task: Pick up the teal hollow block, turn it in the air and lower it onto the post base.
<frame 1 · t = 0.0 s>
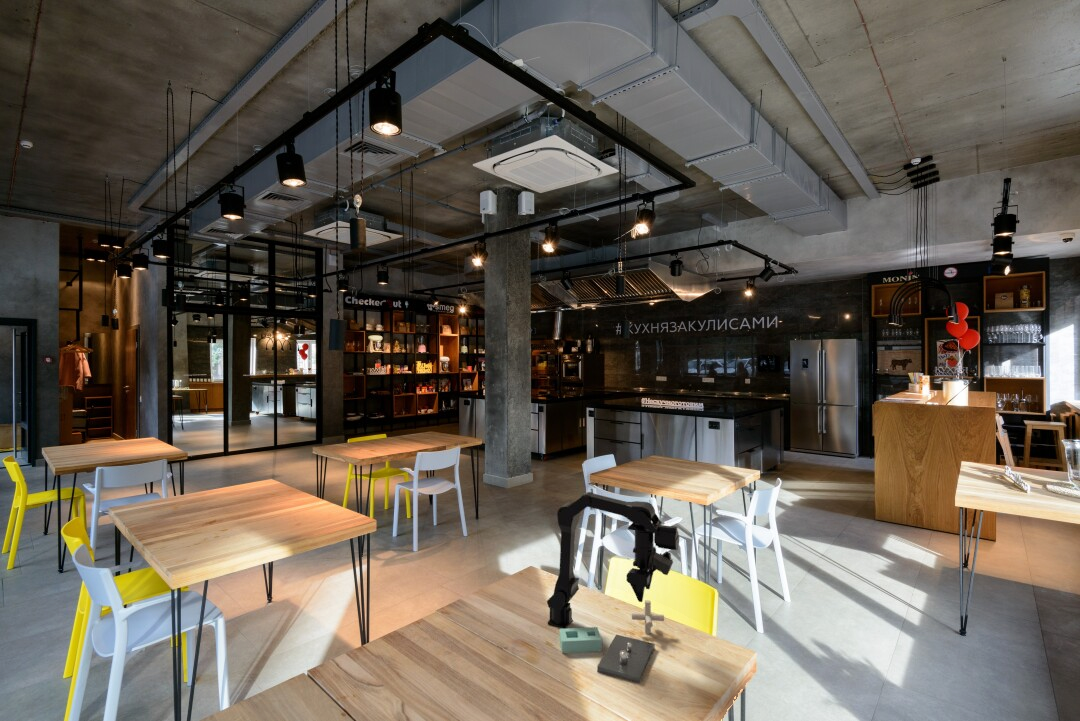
hand: (644, 595, 157), 15 cm above the table, tool pointing down, fingers open, 9 cm apart
pipe connector: (647, 633, 163), on the table
teal hollow block: (580, 645, 155), on the table
post base: (627, 659, 148), on the table
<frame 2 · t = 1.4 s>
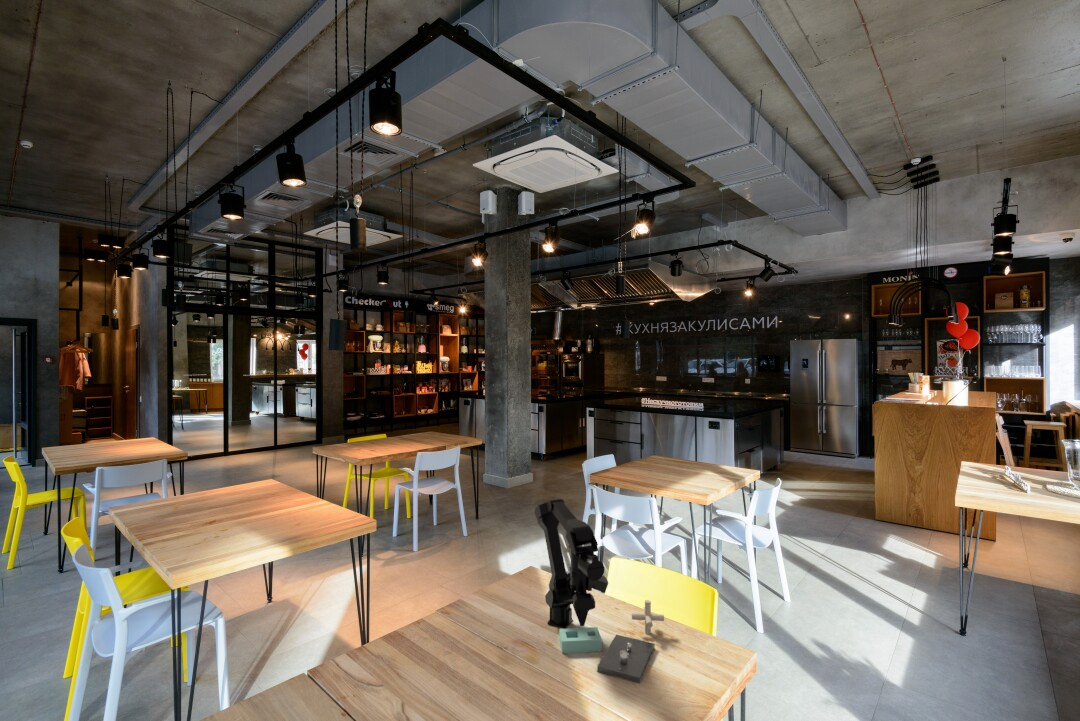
hand: (579, 617, 155), 8 cm above the table, tool pointing down, fingers open, 9 cm apart
nothing on the table moved.
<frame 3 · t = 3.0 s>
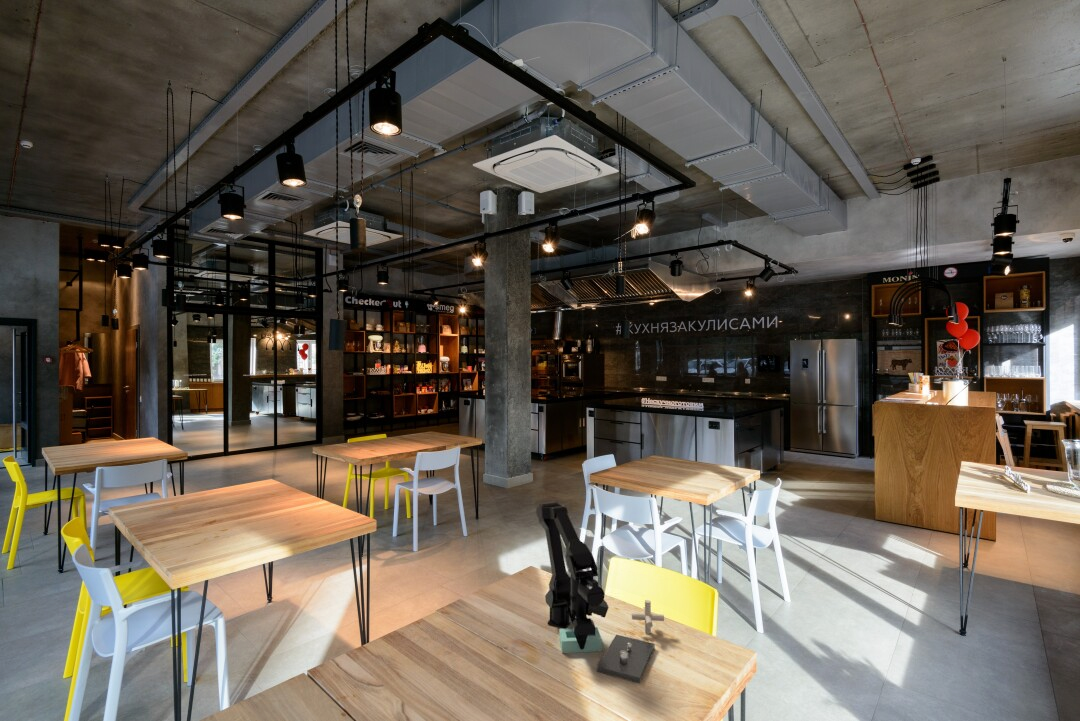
hand: (580, 642, 155), 1 cm above the table, tool pointing down, fingers closed on teal hollow block, 7 cm apart
teal hollow block: (580, 645, 155), on the table, touching gripper
everything else where it was.
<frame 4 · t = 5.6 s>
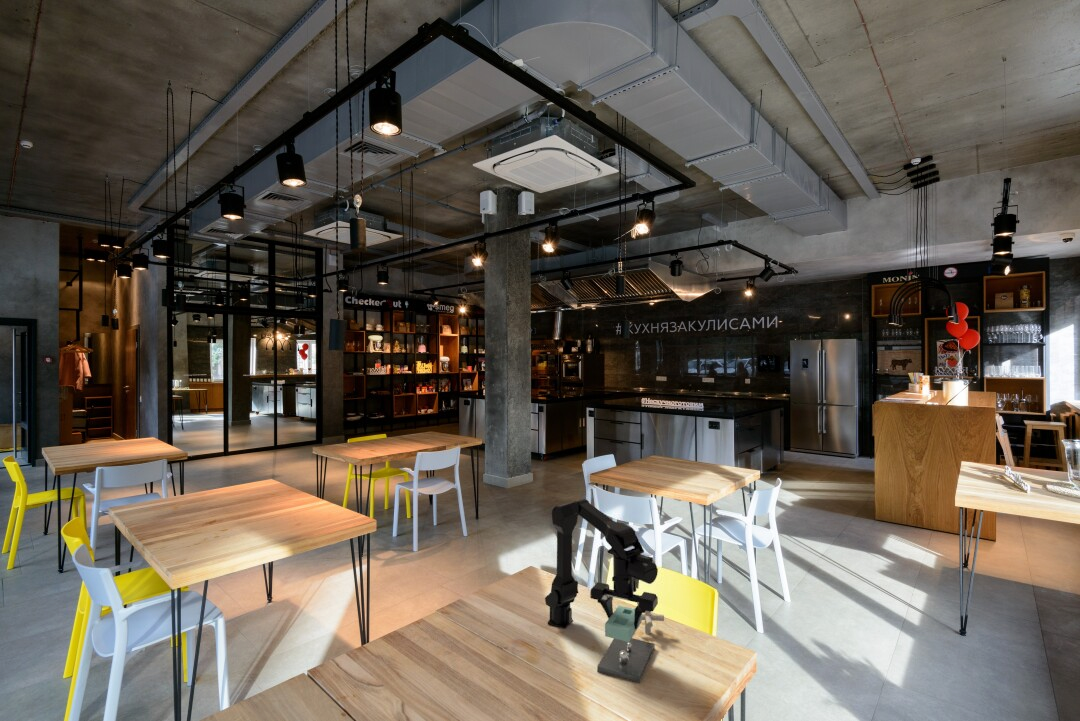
hand: (623, 625, 147), 10 cm above the table, tool pointing down, fingers closed on teal hollow block, 7 cm apart
teal hollow block: (623, 629, 147), point 9 cm above the table, touching gripper
everything else where it was.
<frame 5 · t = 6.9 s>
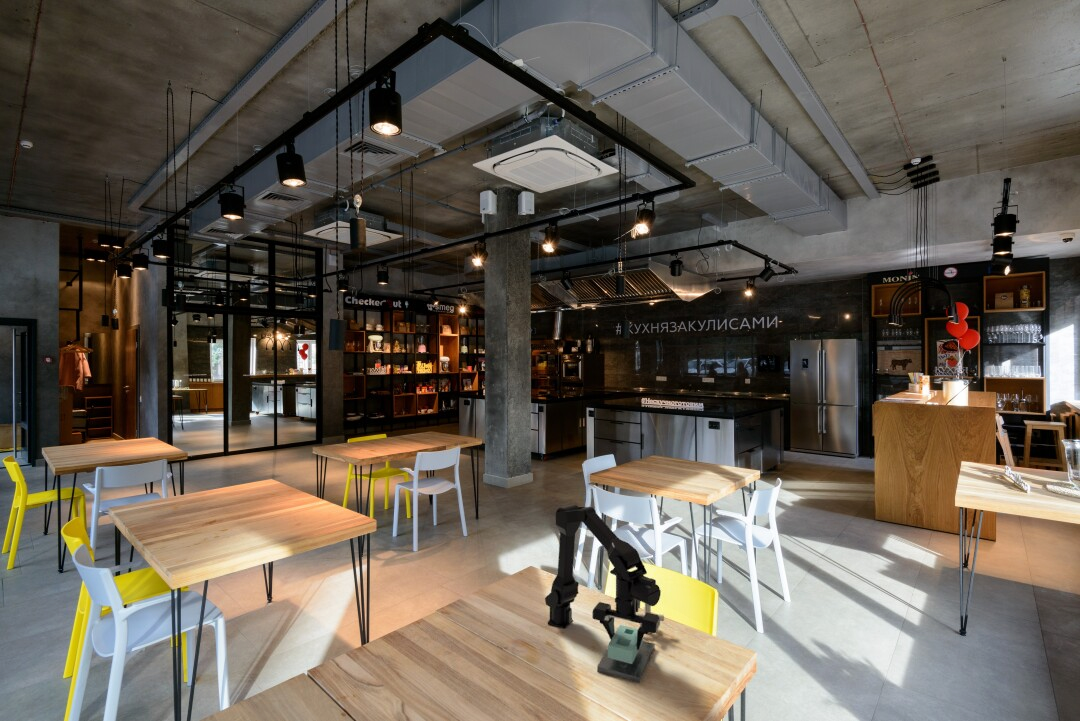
hand: (625, 646, 147), 4 cm above the table, tool pointing down, fingers closed on teal hollow block, 7 cm apart
teal hollow block: (625, 649, 147), point 3 cm above the table, touching gripper
everything else where it was.
when the fingers open (3 cm above the table, at t = 8.3 s): teal hollow block stays where it is, resting on post base.
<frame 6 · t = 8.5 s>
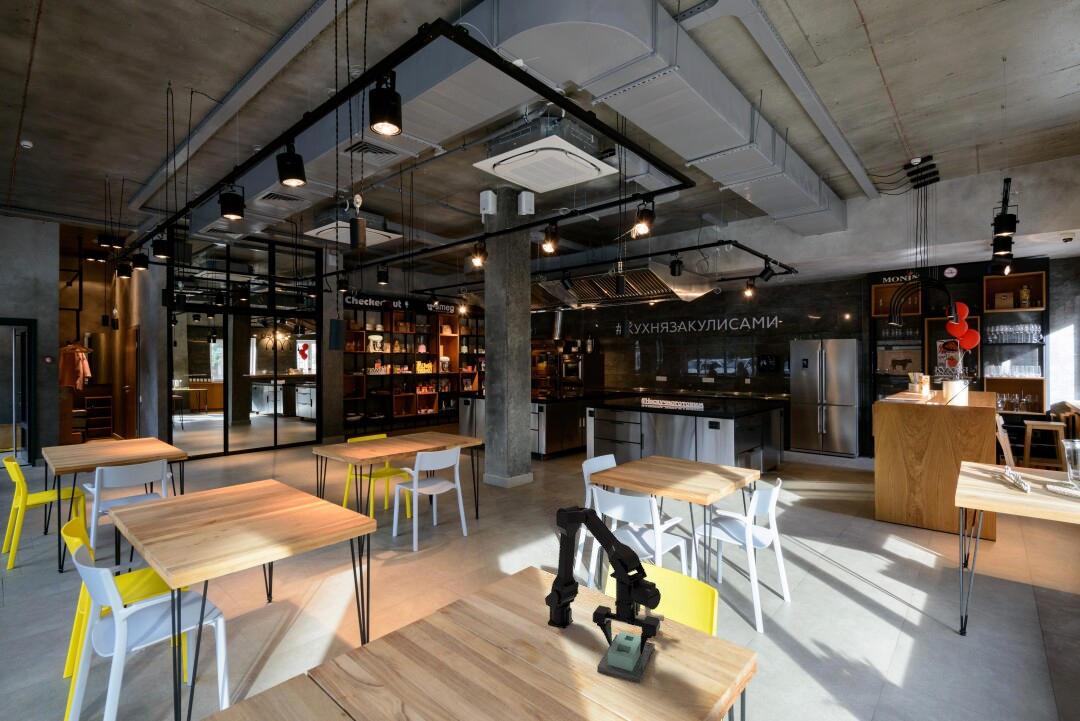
hand: (625, 649, 147), 3 cm above the table, tool pointing down, fingers open, 9 cm apart
teal hollow block: (625, 656, 147), point 1 cm above the table, touching post base
everything else where it was.
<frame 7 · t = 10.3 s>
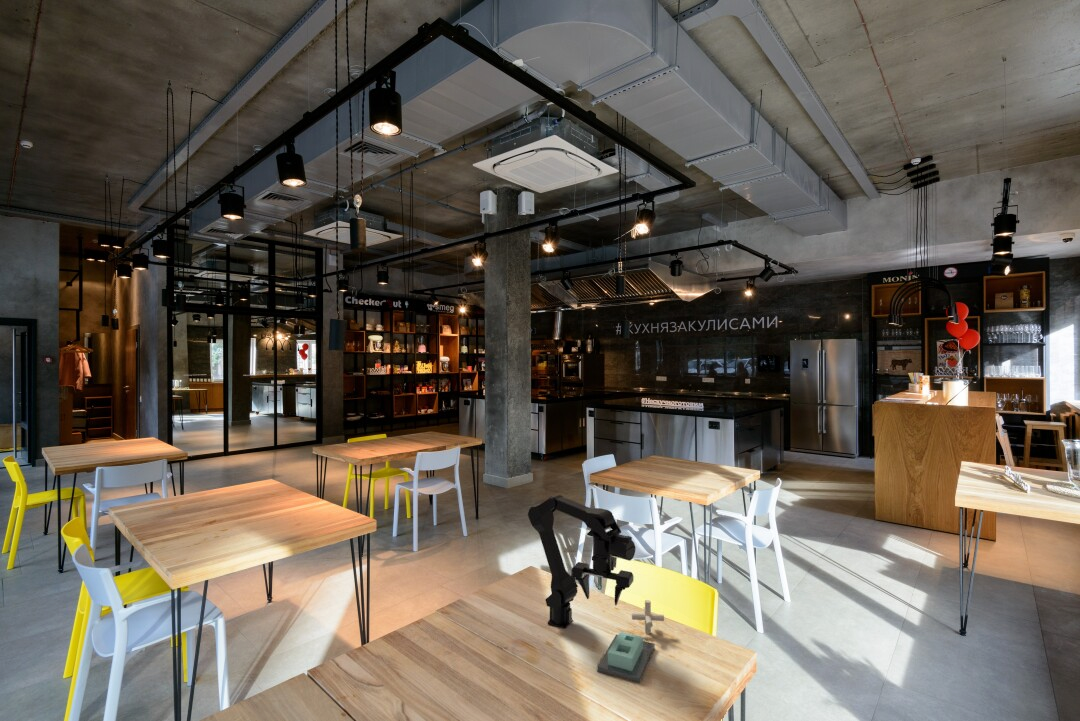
hand: (601, 601, 158), 12 cm above the table, tool pointing down, fingers open, 9 cm apart
nothing on the table moved.
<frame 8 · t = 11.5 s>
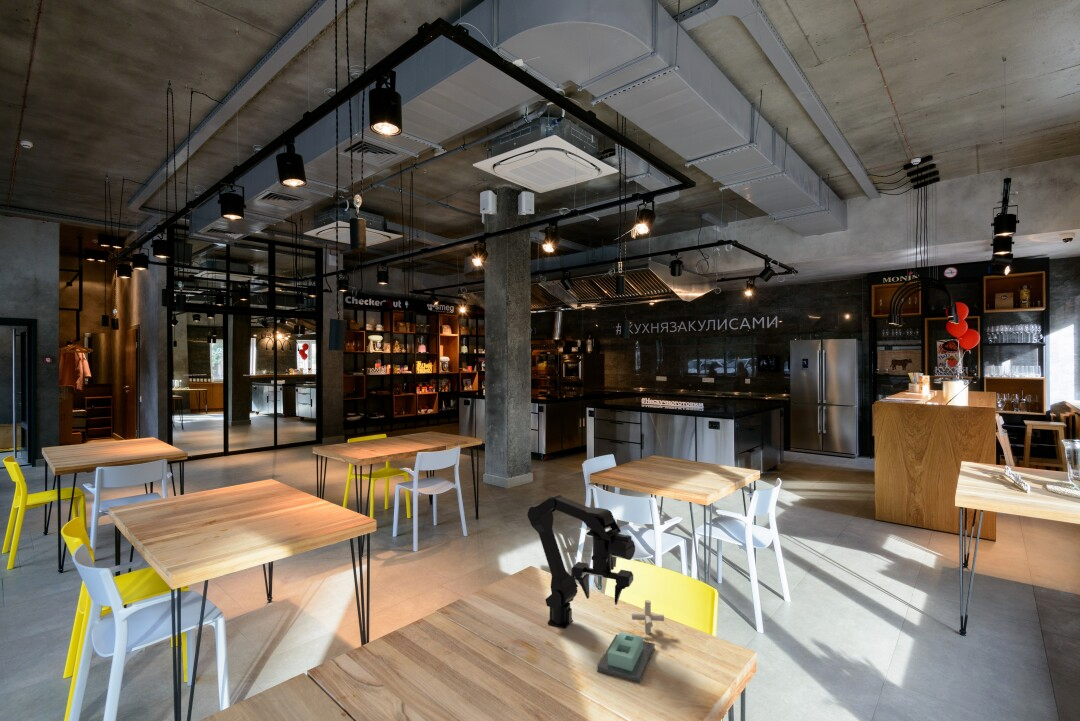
hand: (601, 601, 159), 12 cm above the table, tool pointing down, fingers open, 9 cm apart
nothing on the table moved.
at the end: teal hollow block 0.0 cm from the target spot on the post base, point 1.5 cm above the post base's base; teal hollow block tilted 0°; the gripper is holding nothing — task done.
